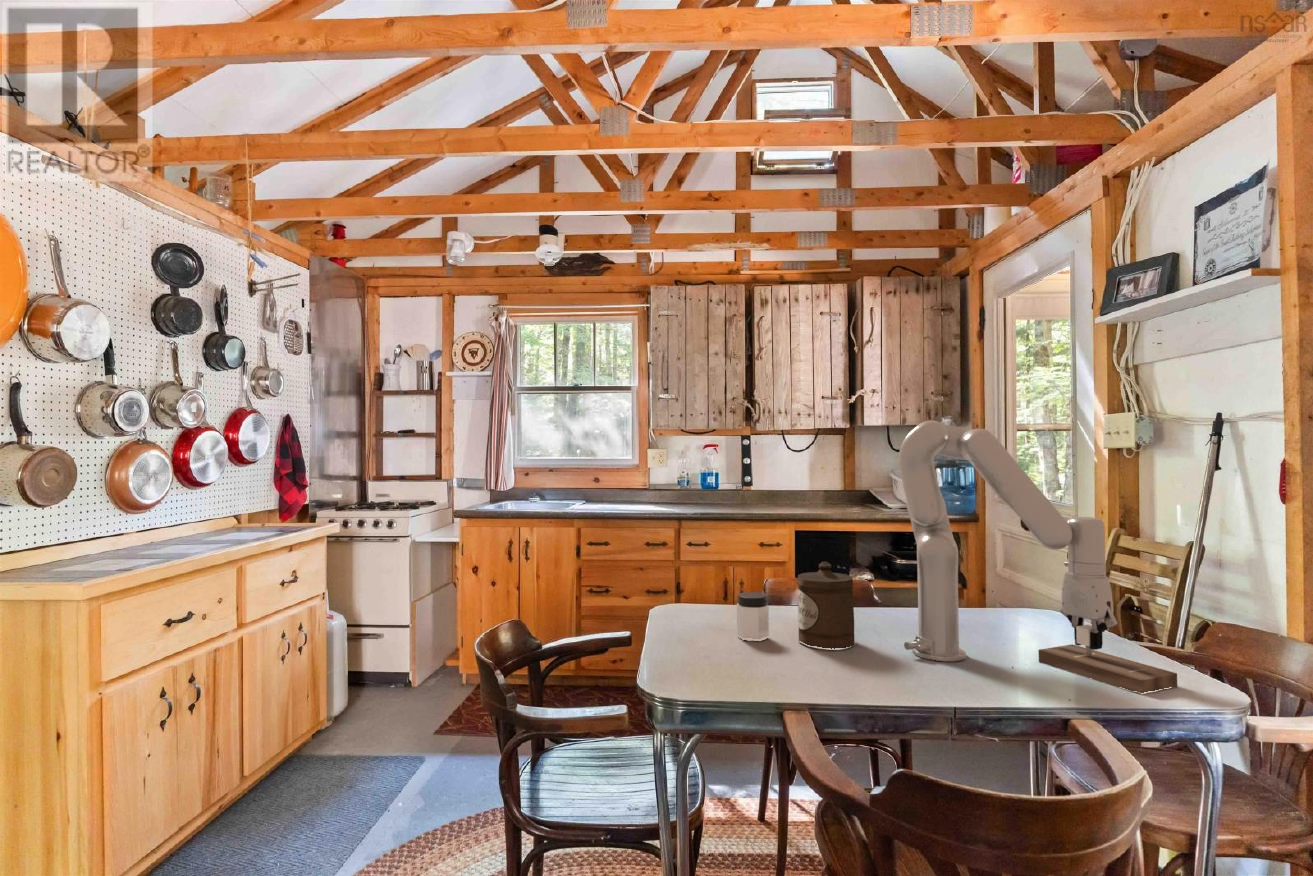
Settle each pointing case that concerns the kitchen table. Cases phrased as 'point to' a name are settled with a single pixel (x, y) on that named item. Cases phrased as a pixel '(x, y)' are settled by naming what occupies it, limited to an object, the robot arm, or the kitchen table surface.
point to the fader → (1084, 637)
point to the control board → (1108, 668)
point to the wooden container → (826, 608)
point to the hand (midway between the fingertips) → (1088, 646)
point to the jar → (752, 615)
